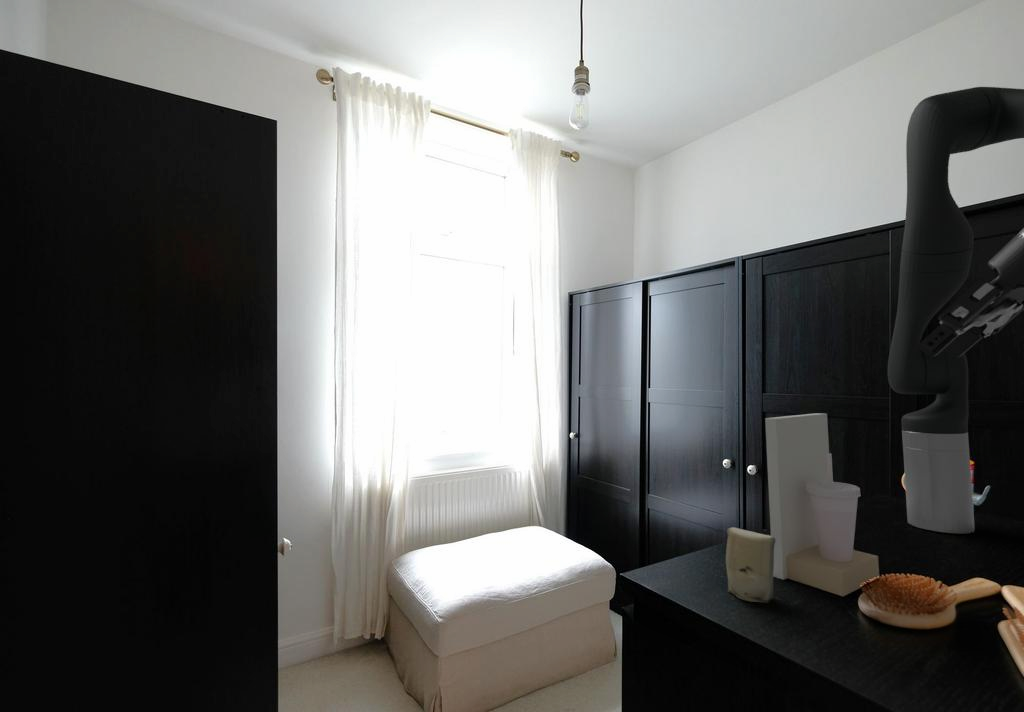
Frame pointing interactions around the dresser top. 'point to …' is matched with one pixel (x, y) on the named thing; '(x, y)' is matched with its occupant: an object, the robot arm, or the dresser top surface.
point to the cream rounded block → (750, 565)
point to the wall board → (805, 506)
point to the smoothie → (834, 515)
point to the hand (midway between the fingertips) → (937, 352)
